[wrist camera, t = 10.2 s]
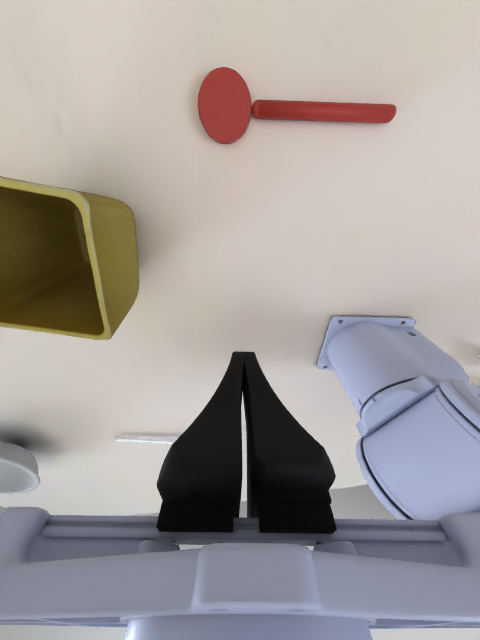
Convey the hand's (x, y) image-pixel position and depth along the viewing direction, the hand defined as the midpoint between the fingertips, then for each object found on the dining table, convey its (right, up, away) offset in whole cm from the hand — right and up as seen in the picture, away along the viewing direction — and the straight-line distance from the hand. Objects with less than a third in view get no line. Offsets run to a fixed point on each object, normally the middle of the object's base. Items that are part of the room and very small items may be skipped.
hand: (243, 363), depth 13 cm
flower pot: (-12, +10, +6) cm, 17 cm away
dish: (-43, -21, +25) cm, 54 cm away
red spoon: (+3, +17, +1) cm, 18 cm away
